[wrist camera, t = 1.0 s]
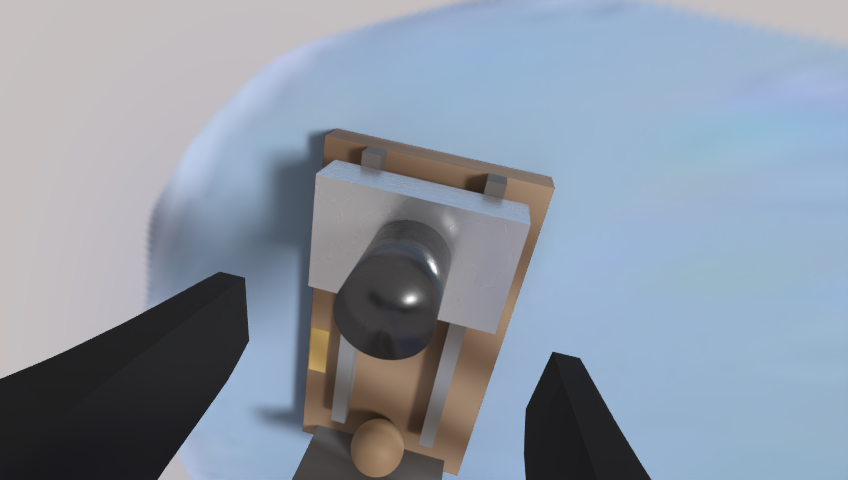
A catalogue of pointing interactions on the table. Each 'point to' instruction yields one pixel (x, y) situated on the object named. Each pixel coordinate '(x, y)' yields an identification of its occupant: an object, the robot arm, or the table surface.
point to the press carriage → (410, 256)
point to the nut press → (420, 374)
